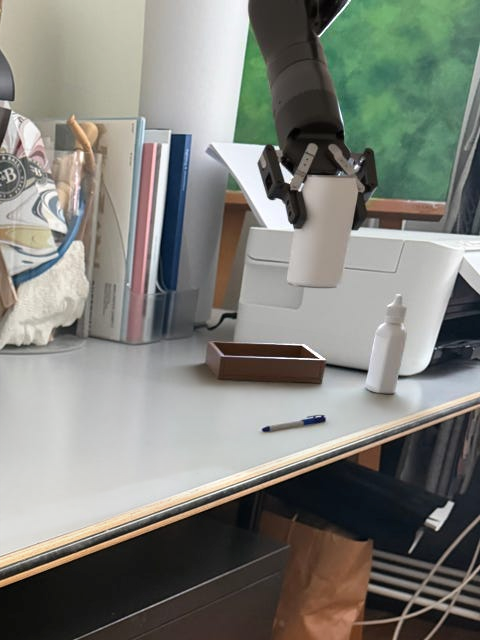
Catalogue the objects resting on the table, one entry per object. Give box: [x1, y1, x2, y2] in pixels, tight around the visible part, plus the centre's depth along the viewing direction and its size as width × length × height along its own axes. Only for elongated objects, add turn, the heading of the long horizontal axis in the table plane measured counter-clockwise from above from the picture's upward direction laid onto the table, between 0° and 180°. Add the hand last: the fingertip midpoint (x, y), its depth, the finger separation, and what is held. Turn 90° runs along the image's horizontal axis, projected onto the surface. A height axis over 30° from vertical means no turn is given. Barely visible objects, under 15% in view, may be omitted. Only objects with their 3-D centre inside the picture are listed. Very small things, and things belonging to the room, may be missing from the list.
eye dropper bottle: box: [365, 293, 408, 394], centre depth 122 cm, size 4×6×12 cm
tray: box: [204, 340, 327, 384], centre depth 133 cm, size 14×12×3 cm
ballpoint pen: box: [261, 414, 327, 433], centre depth 106 cm, size 10×1×1 cm, turn 126°
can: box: [286, 174, 358, 289], centre depth 111 cm, size 6×6×12 cm
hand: (329, 224), depth 109 cm, fingers closed on can, 6 cm apart
